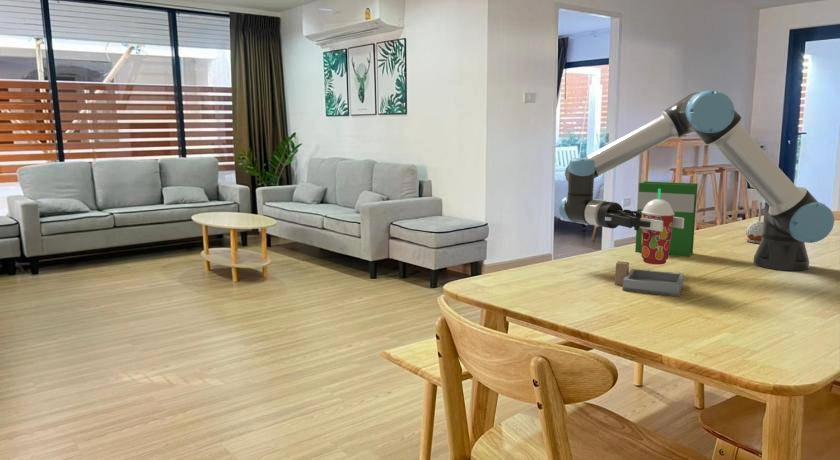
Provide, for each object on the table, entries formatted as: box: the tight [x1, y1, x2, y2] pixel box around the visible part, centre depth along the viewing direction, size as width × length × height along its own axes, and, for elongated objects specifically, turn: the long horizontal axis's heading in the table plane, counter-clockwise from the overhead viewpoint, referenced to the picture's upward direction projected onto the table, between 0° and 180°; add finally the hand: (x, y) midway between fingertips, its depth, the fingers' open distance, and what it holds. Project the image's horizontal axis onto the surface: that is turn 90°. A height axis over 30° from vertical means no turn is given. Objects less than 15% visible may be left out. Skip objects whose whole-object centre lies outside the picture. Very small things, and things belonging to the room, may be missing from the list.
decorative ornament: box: [745, 202, 763, 244], centre depth 238 cm, size 8×8×15 cm
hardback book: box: [634, 180, 699, 258], centre depth 219 cm, size 18×7×24 cm, turn 61°
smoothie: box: [641, 189, 675, 266], centre depth 172 cm, size 8×8×20 cm
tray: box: [614, 261, 685, 298], centre depth 175 cm, size 17×14×6 cm
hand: (672, 224), depth 168 cm, fingers closed on smoothie, 8 cm apart
